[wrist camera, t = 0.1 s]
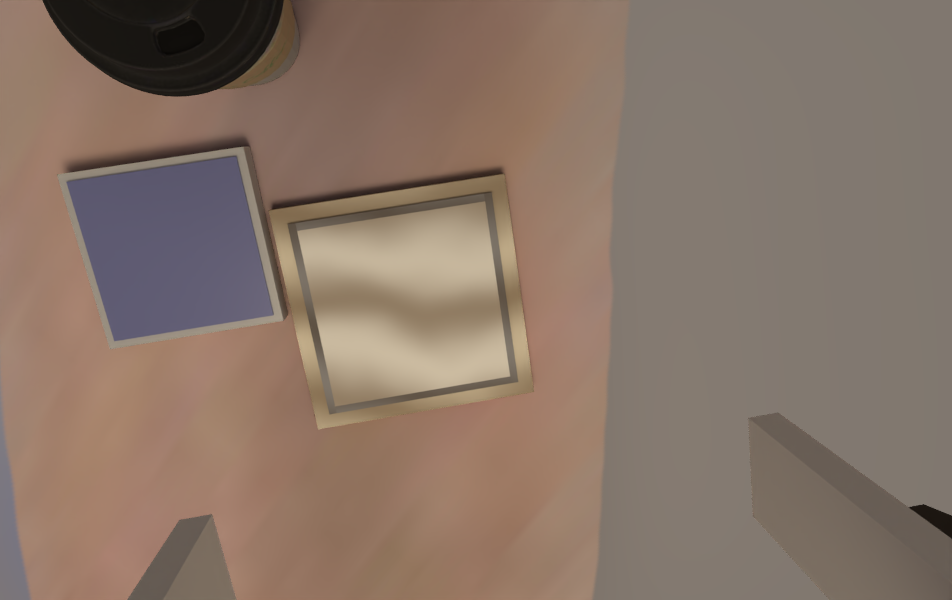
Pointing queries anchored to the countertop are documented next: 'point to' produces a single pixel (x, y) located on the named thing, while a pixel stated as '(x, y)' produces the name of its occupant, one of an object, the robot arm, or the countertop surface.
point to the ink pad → (175, 246)
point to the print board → (405, 299)
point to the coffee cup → (182, 41)
